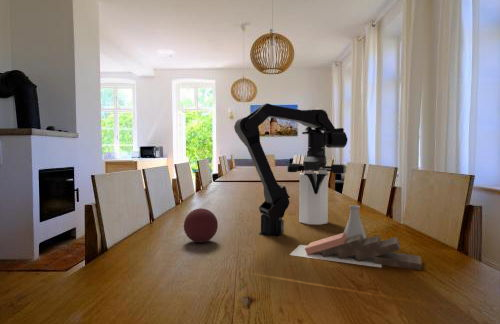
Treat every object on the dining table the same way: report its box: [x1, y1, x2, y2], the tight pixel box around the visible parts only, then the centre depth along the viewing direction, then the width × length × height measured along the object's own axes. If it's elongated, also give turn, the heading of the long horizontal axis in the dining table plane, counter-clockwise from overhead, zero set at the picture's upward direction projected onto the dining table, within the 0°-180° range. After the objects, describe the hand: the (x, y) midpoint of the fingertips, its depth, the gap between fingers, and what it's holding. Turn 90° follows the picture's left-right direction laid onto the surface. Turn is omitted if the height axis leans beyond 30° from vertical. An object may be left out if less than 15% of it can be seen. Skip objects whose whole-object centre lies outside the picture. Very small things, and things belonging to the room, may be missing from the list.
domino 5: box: [374, 251, 422, 271], centre depth 79 cm, size 2×6×10 cm
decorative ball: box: [183, 207, 219, 244], centre depth 98 cm, size 10×10×10 cm
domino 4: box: [355, 236, 400, 261], centre depth 80 cm, size 2×6×10 cm
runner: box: [289, 244, 383, 268], centre depth 85 cm, size 22×10×1 cm, turn 66°
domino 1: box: [305, 231, 347, 255], centre depth 86 cm, size 2×6×10 cm
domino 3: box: [338, 235, 382, 259], centre depth 82 cm, size 2×6×10 cm
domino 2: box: [321, 234, 364, 257], centre depth 84 cm, size 2×6×10 cm
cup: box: [298, 172, 329, 226], centre depth 125 cm, size 11×11×18 cm
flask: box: [343, 204, 368, 239], centre depth 103 cm, size 7×7×10 cm
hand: (316, 193), depth 111 cm, fingers closed
